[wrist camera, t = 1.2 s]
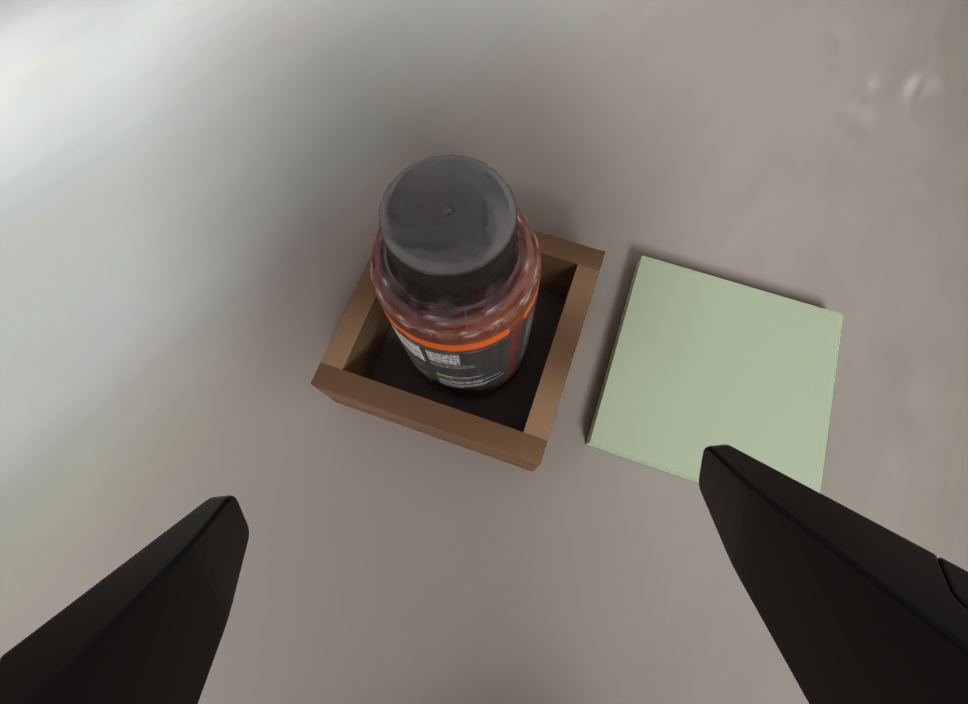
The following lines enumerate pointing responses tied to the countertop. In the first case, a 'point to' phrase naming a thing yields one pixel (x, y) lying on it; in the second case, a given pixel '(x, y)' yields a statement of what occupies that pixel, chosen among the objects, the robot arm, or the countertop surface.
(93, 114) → the countertop surface
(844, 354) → the countertop surface
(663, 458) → the sage rubber mat
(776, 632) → the robot arm
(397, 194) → the supplement bottle
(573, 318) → the walnut collar
